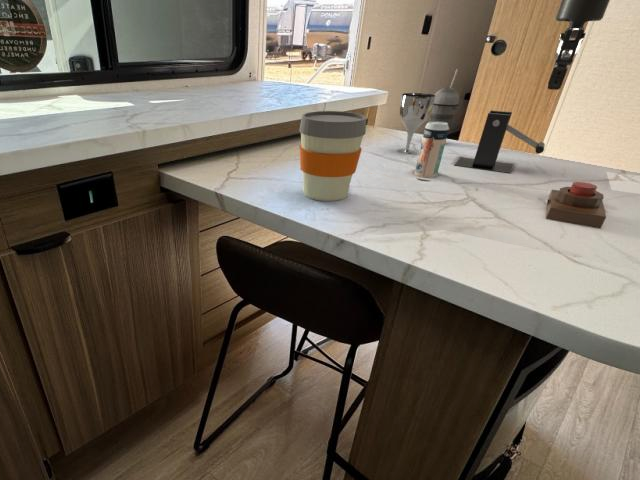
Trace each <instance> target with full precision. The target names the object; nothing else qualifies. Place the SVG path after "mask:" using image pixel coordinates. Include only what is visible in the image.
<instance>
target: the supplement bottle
mask: <svg viewBox="0 0 640 480" xmlns="http://www.w3.org/2000/svg"><path fill="white" fill-rule="evenodd" d="M449 131H450V127H448V123H446V122H439V121H431V122H429V121H428V122H427V124H426V125H425V126H424V131H423V135H422V138H421V143H420V148H419V152H418V155H417V156H418V157H417V160H416V165H415V169H414V175H415V176H417V177H419V178H417V177H416V178H415V179H416V180H418V181H420V182H431V180H430V179H431V178H433V179H434V178H436V177H438V174H439V168H440V166H441V160H442V158H443V154H444V151H445V146H446V142H447V139H448V134H449ZM423 178H424V179H423ZM425 178H426V179H425ZM428 179H429V180H428Z"/></svg>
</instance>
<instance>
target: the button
mask: <svg viewBox="0 0 640 480" xmlns="http://www.w3.org/2000/svg"><path fill="white" fill-rule="evenodd" d="M570 187H571V188H570V191H569V192H570V193H572V194H576V195H581V196H593V195H594V193H595V191H597V188H598V186H597V185H596V184H594V183H590V182H585V181H574V182H573V183H572V184H571V186H570Z"/></svg>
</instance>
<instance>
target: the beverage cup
mask: <svg viewBox="0 0 640 480" xmlns="http://www.w3.org/2000/svg"><path fill="white" fill-rule="evenodd" d="M458 72H459V69H458V68H456V69H455V72H454V74H453V78H452V80H451V83H450V86H449V87H443V88H439V90H438V91H436V92H435V93H434V95H435V96H436V97H435V101H434V105H433V108H432V111H431V113H430V115H429V118H428V122H431V121H439V122H446V123H448V127H449V128H450V127H451V123H452V121H453V119H454V115H455V113H456V112H457V109H458V106H459V104H460V103H459V102H460V97H459V93H458V92H457V90H456V89H455V88H453V86H454V83H455V80H456V77H457V74H458Z"/></svg>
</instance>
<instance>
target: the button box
mask: <svg viewBox="0 0 640 480" xmlns="http://www.w3.org/2000/svg"><path fill="white" fill-rule="evenodd" d="M570 188H571V186H562V187H559V189H554V188H553V189H551V190H550V193H549V197H548V199H547V203H546V213H545V220H549V221H556V222H561V223H566V224H573V225H578V226H583V227H588V228H589V227H590V228H595V229H601V228H602V226H603V225H604V223H605V221H606V219H607V215H606V210H605V205H604V201H603V200H604V198H605V195H604V194H603V193H601V192H599V191H597V190H596V191H595V193H594V195H593V196H581V195H576V194H572V193H570V192H569V191H570Z"/></svg>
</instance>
